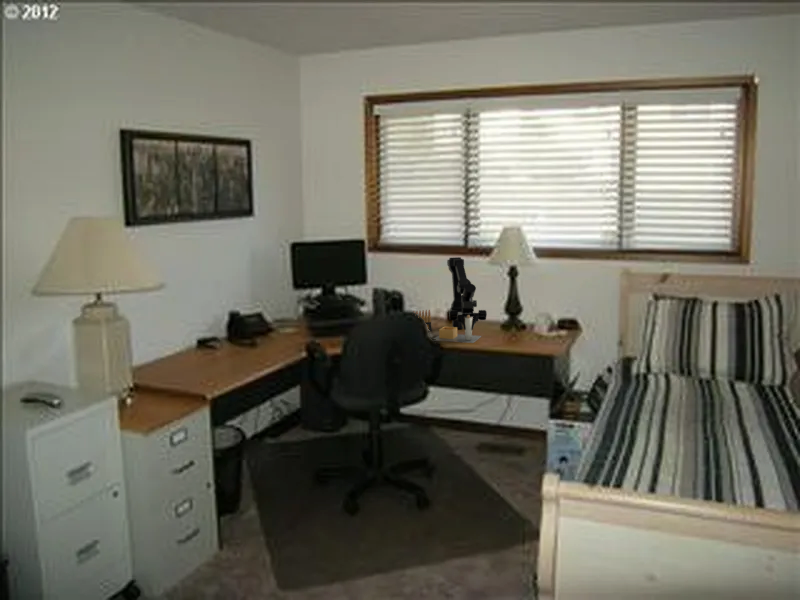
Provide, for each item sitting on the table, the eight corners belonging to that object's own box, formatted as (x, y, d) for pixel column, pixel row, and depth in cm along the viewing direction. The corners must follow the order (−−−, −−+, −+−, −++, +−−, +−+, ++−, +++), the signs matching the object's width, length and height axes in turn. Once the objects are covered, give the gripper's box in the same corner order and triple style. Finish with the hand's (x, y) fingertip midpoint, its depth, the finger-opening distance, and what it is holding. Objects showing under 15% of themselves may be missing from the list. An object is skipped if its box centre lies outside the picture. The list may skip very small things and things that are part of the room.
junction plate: (441, 335, 372) (441, 324, 371) (481, 337, 364) (481, 327, 363) (431, 341, 357) (431, 331, 356) (473, 344, 349) (473, 334, 348)
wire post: (466, 338, 357) (466, 314, 355) (472, 338, 356) (472, 314, 354) (464, 339, 354) (464, 315, 352) (470, 340, 353) (470, 316, 350)
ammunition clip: (413, 332, 379) (412, 311, 377) (412, 332, 381) (411, 310, 378) (431, 331, 382) (431, 309, 380) (430, 330, 384) (430, 308, 382)
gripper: (449, 294, 355) (450, 320, 346) (486, 294, 354) (488, 320, 346) (449, 307, 364) (449, 332, 355) (485, 306, 364) (486, 332, 355)
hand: (468, 329), depth 353 cm, fingers closed on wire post, 3 cm apart
